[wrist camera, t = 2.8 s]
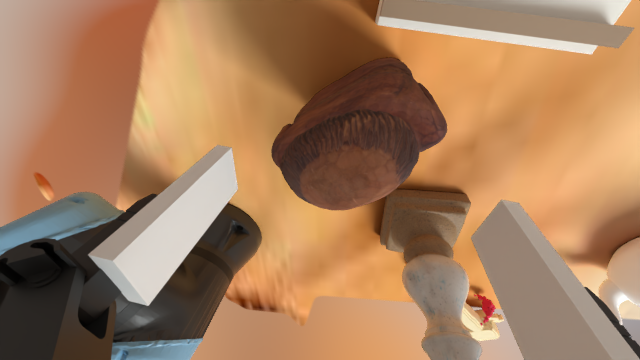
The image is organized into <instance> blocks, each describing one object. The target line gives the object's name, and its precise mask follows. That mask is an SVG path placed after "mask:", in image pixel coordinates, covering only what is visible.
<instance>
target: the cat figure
mask: <svg viewBox="0 0 640 360" xmlns="http://www.w3.org/2000/svg"><path fill="white" fill-rule="evenodd" d="M474 296H476V295H474ZM477 296H478V299H479V300H483V302H482V304H483V307H482V309H483V310H476V311H474V310H473V309H472V308H471V307H470V306H469V305H468V304H467V303H466V302H465V305H464V307H463V311H462V323H463V325H464V327H465V328H466V329H467V330H468V331H469V332H470V333H471V335H472V338H474V339H476V340H477V341H483V340H491V339H498V338H499V336H500V334H499V331H498V329H497V326H496V324H495V322H497V323H499V322H501V321H504V319H503V316H502V315H498V314H493V312H494V310H495V309H496V308H495V306H494V305H493V304H492V302H491V300H488V299H486V297H485V296H483V297H482V296H480V295H479V294H478V295H477Z"/></svg>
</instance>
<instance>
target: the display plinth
mask: <svg viewBox="0 0 640 360" xmlns="http://www.w3.org/2000/svg"><path fill="white" fill-rule="evenodd" d="M630 1H631V0H380V1H379V6H378V11H377V15H376V20H375V23H376V24H377V25H381V26H388V27H395V28H403V29H410V30H417V31H424V32H432V33H439V34H446V35H454V36H461V37H468V38H476V39H483V40H490V41H498V42H505V43H512V44H519V45H527V46H534V47H541V48H549V49H556V50H563V51H571V52H578V53H585V54H592V53H593V52H594V50H595V49H596V48H597V46H605V47H613V48H619V47H620V46H621V45H622V43H623V42H624V41H625V40H626V38H627V37H628V36H629V34H630V33H631V32H632V31H633V29H634V28H632V27H624V26H616V25H613V24H614V23H615V22H616V20H617V19H618V18H619V16H620V15H621V14H622V12H623V11H624V10H625V8H626V7H627V5H628V4H629V3H630Z"/></svg>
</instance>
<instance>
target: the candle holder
mask: <svg viewBox="0 0 640 360" xmlns="http://www.w3.org/2000/svg"><path fill="white" fill-rule="evenodd" d="M470 205H471V202H470V200H469V198H468V196H467V195H466V194H462V193H452V192H438V191H424V190H410V189H395V190H393V191H392V192H391V193H389V194H388V195H387V196H386V200H385V206H384V212H383V218H382V223H381V229H380V242H381V245H386V249H388V250H391V251H396V252H403V254H404V258H405V260H406V262H407V264H406V266H405V267H404V269H403V272H402V281H403V285H404V287H405V289H406V291H407V293H408V294H409V296H410V297H411V298H412V300H413V301H414V302H415V303H416V304H417V305H418V307H419V308H420V309H421V311H422V312H423V314H424V315H425V317H426V319H427V330H426V331H425V337H424V338H423V339H422V342H421V343H422V348H423V350H424V351H425V352H426V353H427V354H428V356H429V357H430V359H431V360H479V358H480V356H481V353H482V347H481V345H480V343H479V342H478V341H477V340H476V339H474V338H472V335H471V333H470V332H469V331H468V330H467V329H466V328H465V327H464V325H463V323H462V311H463V307H464V305H465V302H466V299H467V296H468V293H469V284H470V283H469V278H468V275H467V273H466V271H465V269H464V268H463V267H462V266H461V265H460V264H459V263H458V262H456V261H455V260H453V249H452V248H453V246H454V244H455V242H456V240H457V238H458V236H459V233H460V231H461V229H462V226H463V224H464V221H465V218H466V215H467V213H468V211H469V208H470Z"/></svg>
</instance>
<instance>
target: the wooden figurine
mask: <svg viewBox="0 0 640 360" xmlns="http://www.w3.org/2000/svg"><path fill="white" fill-rule="evenodd" d="M446 133H447V124H446V120H445V118H444V116H443V114H442V113H441V111H440V109H439V107H438V106H437V104H436V102H435V101H434V99H433V97H432V95H431V94H430V93H429V92H428V90H427V89H426V88H425V87H424V86H423V85H422V84H420V83H417V82H416V81H415V80H414V78H413V76H412V73H411V71H410V70H409V68H408V67H407V66H406V65H405V64H404V63H403V62H401V61H399V60H398V59H395V58H383V59H377V60H373V61H370V62H368V63H366V64H364V65H362V66H361V67H359V68H358V69H356V70H354V71H352V72H351V73H349V74H348V75H346V76H344V77H343V78H341V79H339V80H337V81H335V82H333V83H332V84H330V85H328V86H327V87H325V88H324V89H322V90H321V91H320V92H318V93H317V94H316V95H314V96H313V98H312V99H311V100H310V101H309V103H307V104H306V105H305V106H304V107H303V108H302V109H301V110H300V112H299V113H298V114H297V116H296V118H295V120H294V123H293V124H288V125H286V126H284V127H283V128H282V130H281V132H280V133H279V134H278V136H277V137H276V139H275V141H274V143H273V146H272V158H273V161H274V163H275V164H276V165H277V166H278V167H279V168H280V169H281V171H282V174H283V176H284V178H285V180H286V182H287V183H288V185H289V186H290V188H291V189H292V190H293V191H294V192H295V194H296V195H297V196H298V197H300V198H301V199H303V200H305V201H306V202H308V203H310V204H313V205H315V206H317V207H320V208H324V209H328V210H348V209H352V208H356V207H359V206H362V205H366V204H369V203H371V202H374V201H376V200H379V199H381V198H383V197H385V196H387V195H388V194H389V193H391V192H392V191H393V190H395V189H396V188H397V187H398V186H399V185H400V184H401V183H403V182H404V181H405V180H406V179H407V178H408V176H409V175H410V174H411V172H412V169H413V168H414V166H415V165H416V163H417V161H418V158H419V152H422V151H424V150H426V149H428V148H430V147H432V146H434V145H436V144H437V143H439V142H440V141H441V140H442V139H443V138H444V137H445V135H446Z"/></svg>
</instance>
